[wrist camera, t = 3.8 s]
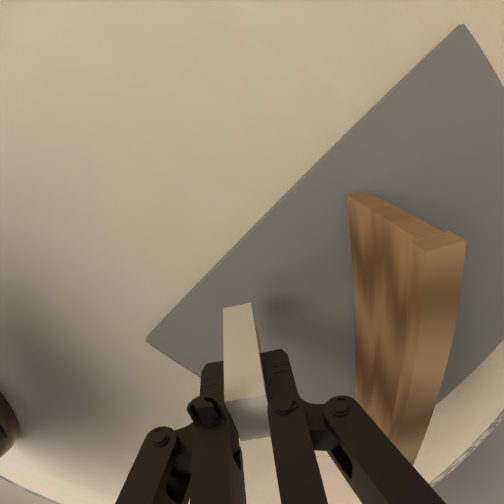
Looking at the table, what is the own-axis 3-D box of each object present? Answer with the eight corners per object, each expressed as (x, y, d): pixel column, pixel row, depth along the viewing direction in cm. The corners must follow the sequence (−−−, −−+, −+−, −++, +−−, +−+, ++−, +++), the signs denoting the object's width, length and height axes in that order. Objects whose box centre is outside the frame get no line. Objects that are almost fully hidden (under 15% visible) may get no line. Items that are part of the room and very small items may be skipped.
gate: (369, 421, 24) (400, 492, 16) (349, 427, 24) (377, 500, 16) (371, 190, 16) (466, 240, 9) (340, 195, 16) (425, 251, 9)
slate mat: (361, 453, 28) (362, 457, 27) (147, 336, 20) (145, 341, 19) (557, 261, 22) (560, 263, 21) (458, 25, 14) (463, 24, 13)
